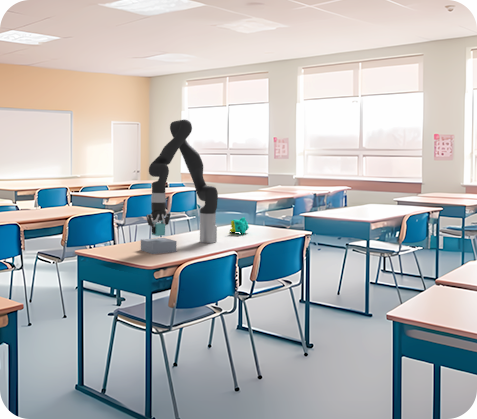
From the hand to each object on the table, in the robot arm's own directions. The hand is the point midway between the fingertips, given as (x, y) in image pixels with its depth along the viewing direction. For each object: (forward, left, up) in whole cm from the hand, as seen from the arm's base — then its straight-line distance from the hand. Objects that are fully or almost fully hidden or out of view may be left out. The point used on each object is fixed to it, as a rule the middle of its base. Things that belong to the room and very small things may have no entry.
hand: (158, 233), depth 284 cm
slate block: (0, 0, -10) cm, 10 cm away
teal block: (0, 0, -1) cm, 1 cm away
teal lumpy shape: (-80, -23, -10) cm, 84 cm away
